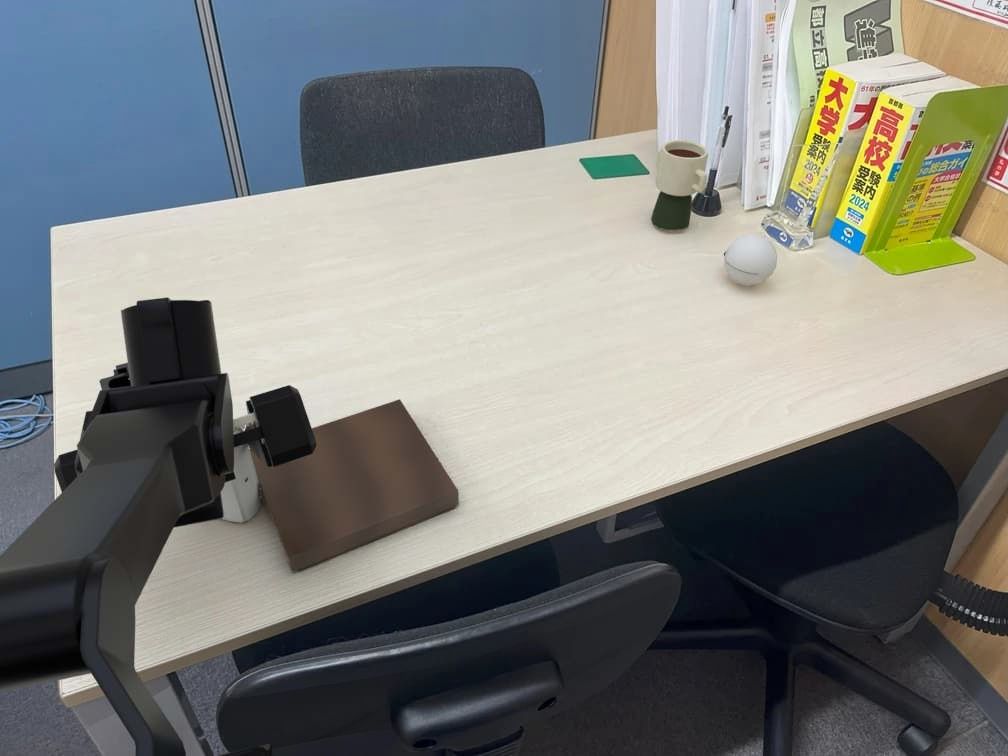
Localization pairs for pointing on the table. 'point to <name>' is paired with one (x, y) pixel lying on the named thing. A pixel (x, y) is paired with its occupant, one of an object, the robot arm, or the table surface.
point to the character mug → (678, 182)
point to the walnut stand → (355, 486)
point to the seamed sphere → (750, 259)
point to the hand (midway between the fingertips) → (197, 455)
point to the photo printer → (241, 487)
